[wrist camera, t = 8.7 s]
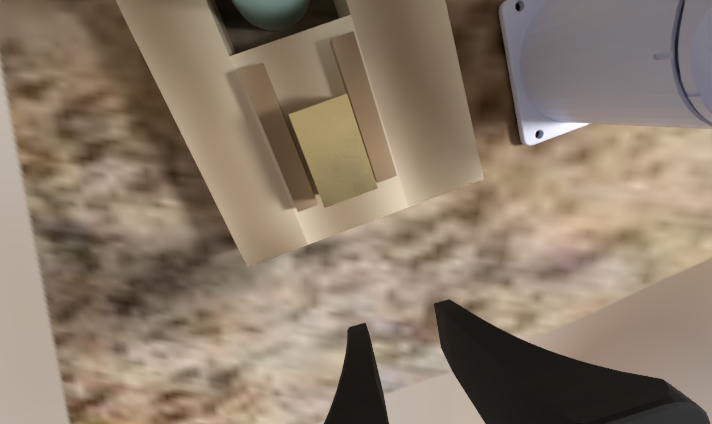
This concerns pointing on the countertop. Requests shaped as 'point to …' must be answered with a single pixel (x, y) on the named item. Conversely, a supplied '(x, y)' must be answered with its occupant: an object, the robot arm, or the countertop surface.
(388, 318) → the countertop surface
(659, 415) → the robot arm
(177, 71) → the dock plate
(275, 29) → the teal peg
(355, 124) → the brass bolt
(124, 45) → the countertop surface
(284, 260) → the countertop surface
